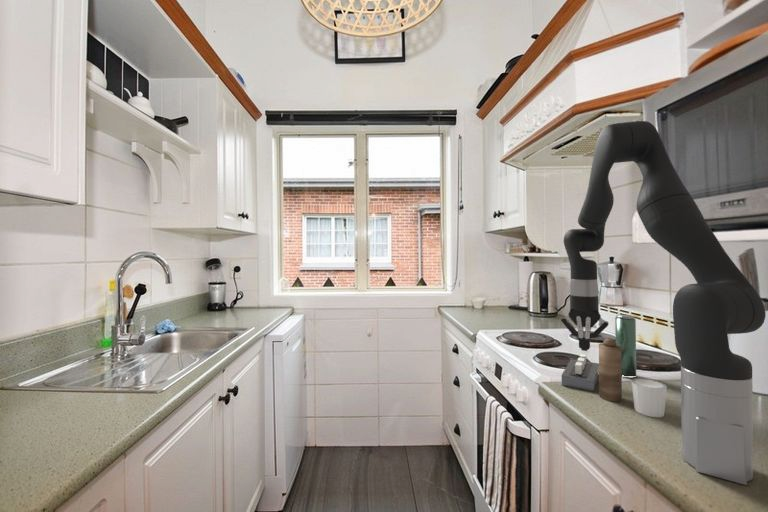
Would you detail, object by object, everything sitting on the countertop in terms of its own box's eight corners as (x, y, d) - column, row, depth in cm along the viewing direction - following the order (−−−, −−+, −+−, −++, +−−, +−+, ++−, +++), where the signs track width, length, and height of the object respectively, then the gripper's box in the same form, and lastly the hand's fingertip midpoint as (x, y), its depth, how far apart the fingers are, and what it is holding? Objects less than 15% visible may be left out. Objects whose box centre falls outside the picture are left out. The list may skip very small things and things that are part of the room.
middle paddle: (583, 369, 101) (583, 361, 101) (577, 368, 102) (577, 360, 102) (584, 366, 104) (584, 358, 104) (578, 365, 104) (578, 357, 104)
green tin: (636, 379, 101) (635, 318, 101) (615, 376, 104) (614, 316, 104) (636, 374, 106) (635, 315, 105) (616, 371, 109) (615, 313, 109)
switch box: (593, 391, 93) (593, 380, 93) (561, 385, 98) (561, 374, 98) (599, 372, 108) (598, 363, 108) (571, 367, 112) (570, 358, 112)
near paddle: (581, 374, 97) (581, 365, 97) (575, 373, 98) (575, 364, 98) (582, 371, 100) (582, 362, 100) (576, 370, 101) (576, 361, 100)
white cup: (674, 419, 77) (674, 389, 77) (640, 417, 79) (640, 387, 79) (656, 406, 84) (656, 378, 84) (626, 404, 85) (625, 377, 85)
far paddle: (585, 365, 105) (585, 356, 105) (579, 364, 106) (579, 355, 106) (586, 362, 108) (586, 354, 108) (580, 361, 108) (580, 353, 108)
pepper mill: (621, 403, 86) (620, 341, 86) (598, 398, 89) (597, 338, 89) (622, 396, 90) (621, 337, 90) (600, 392, 93) (599, 335, 93)
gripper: (557, 293, 103) (558, 349, 103) (609, 296, 95) (609, 357, 95) (561, 291, 109) (562, 344, 109) (610, 293, 101) (611, 350, 101)
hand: (584, 350), depth 102 cm, fingers closed
